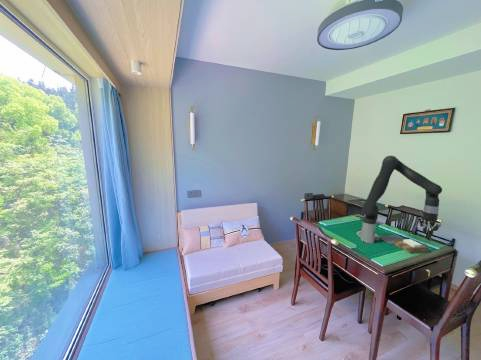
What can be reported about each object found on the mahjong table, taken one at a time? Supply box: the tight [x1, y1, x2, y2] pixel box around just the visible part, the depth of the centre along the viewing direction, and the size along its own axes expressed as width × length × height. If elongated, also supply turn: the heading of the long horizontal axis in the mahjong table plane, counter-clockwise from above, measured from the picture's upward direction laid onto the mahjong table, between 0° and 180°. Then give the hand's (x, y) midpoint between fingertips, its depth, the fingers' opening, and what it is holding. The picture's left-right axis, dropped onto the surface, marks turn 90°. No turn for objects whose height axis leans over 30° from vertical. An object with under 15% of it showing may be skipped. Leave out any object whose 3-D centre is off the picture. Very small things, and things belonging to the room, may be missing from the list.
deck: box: [394, 240, 429, 254], centre depth 151 cm, size 14×14×4 cm
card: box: [403, 238, 423, 247], centre depth 150 cm, size 9×6×2 cm, turn 4°
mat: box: [376, 234, 405, 245], centre depth 167 cm, size 14×20×1 cm
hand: (427, 234), depth 138 cm, fingers open, 3 cm apart
